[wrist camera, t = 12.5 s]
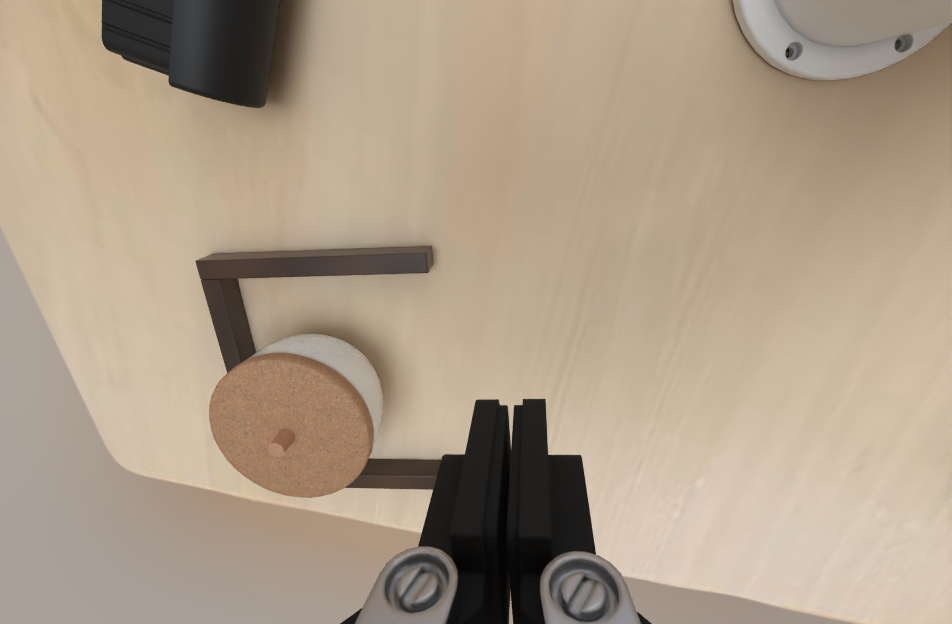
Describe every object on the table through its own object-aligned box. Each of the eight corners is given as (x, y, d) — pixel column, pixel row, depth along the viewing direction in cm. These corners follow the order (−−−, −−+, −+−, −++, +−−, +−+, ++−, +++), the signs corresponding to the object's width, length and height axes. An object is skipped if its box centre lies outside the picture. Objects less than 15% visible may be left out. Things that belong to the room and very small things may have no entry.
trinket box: (267, 300, 35) (184, 356, 26) (406, 327, 35) (368, 392, 26) (268, 417, 39) (195, 499, 30) (392, 441, 39) (355, 531, 30)
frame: (431, 245, 32) (426, 252, 30) (453, 473, 39) (449, 490, 38) (212, 253, 34) (194, 260, 32) (271, 470, 41) (259, 486, 39)
